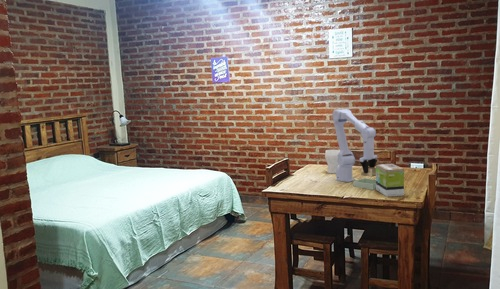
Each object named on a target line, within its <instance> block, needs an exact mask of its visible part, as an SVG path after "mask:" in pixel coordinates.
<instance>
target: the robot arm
mask: <svg viewBox="0 0 500 289" xmlns="http://www.w3.org/2000/svg"><path fill="white" fill-rule="evenodd" d="M352 112H353V111H351V110H350V109H349V108H343V109H334V110H333V112H332V113H331V115H332V116H331V117H332V119H333V120H332V121H333V127H334V129H335V134H336V139H337V144H338V148H339V149H338V150H340V152H339V154H338V155H337V157H338V160H337V162H338V167H337V169H336V173H335V174H336V177H335V181H339V182H344V183H349V182H353V181H356V179H354V178H353V167H354V165H355V163H356V158H355V156H354V152H352V150H350V149H349V144H348V140H347V139H348V138H347V134H346V132H345V127H344V125H345V124H346V123H347V122H348V121H349V122H350V123H351V124H352V125H353V126H354V129H355V130H357V132H359V133H360V136H361V138H362V141H363V143H362V144H363V156H362V157H360V158H359V164H360V165H361V168H362V167H363V171H364V173H368V167H374V168H376V165H377V162H378V155H377V154H375V139H374V138H376V135H377V131H376V129H375V128H374V127H370V126H369V125H367V124H366V123H365V121H363V120H359V119H358V118H357V117H356V116H355V115H353V113H352Z"/></svg>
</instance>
